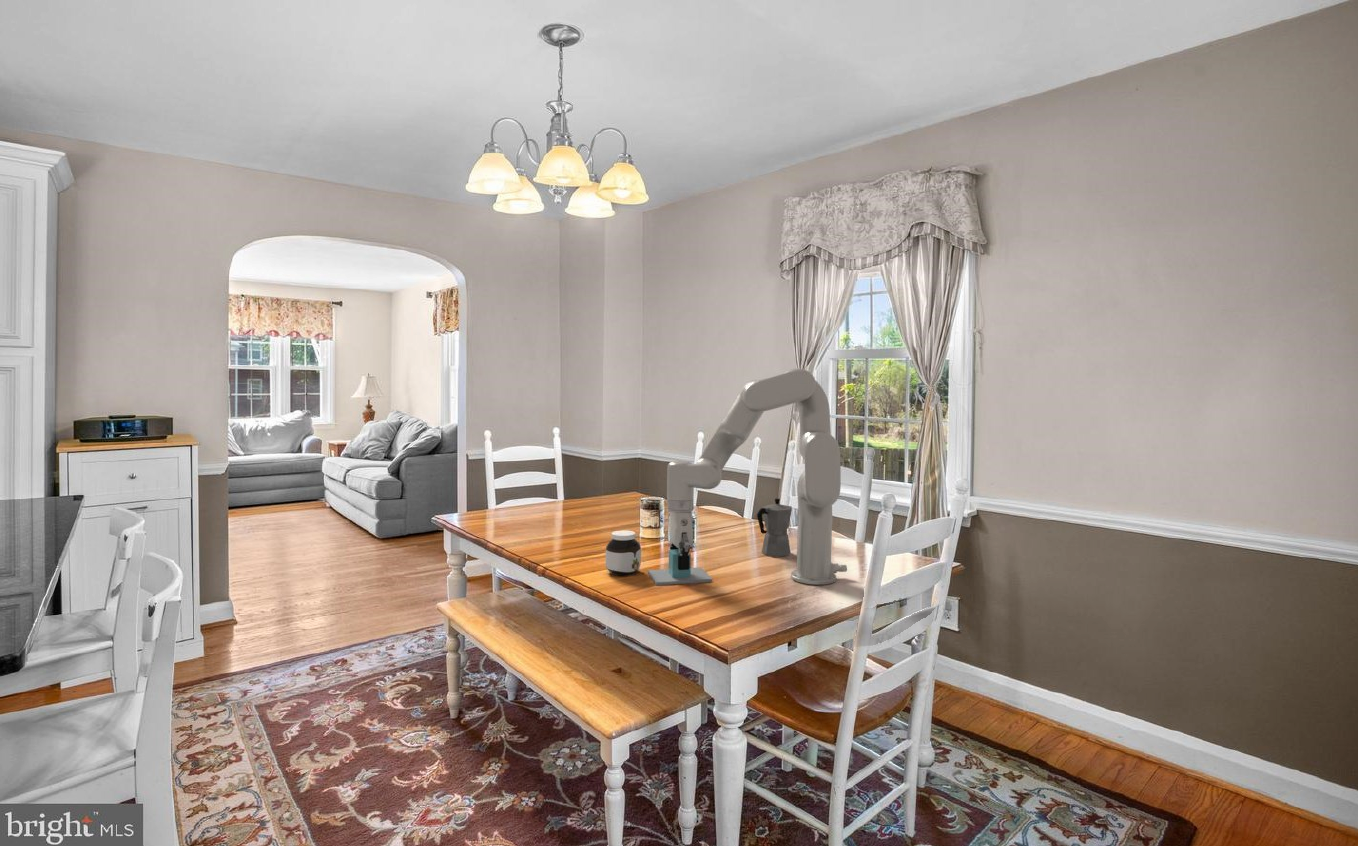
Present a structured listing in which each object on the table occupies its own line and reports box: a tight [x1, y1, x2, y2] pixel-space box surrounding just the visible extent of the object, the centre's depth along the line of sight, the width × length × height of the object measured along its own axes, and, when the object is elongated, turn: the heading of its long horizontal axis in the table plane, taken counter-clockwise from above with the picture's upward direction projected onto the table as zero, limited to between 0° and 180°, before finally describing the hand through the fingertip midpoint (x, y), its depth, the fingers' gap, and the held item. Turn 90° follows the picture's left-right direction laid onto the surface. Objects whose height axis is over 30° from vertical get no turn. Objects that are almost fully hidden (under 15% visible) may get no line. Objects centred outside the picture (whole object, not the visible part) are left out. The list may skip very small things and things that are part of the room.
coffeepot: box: [756, 497, 793, 558], centre depth 226 cm, size 15×9×18 cm, turn 129°
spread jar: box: [604, 529, 642, 577], centre depth 205 cm, size 12×11×12 cm
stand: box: [647, 566, 713, 586], centre depth 199 cm, size 16×12×6 cm
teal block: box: [667, 548, 692, 578], centre depth 199 cm, size 5×5×7 cm
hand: (679, 564), depth 199 cm, fingers open, 9 cm apart
